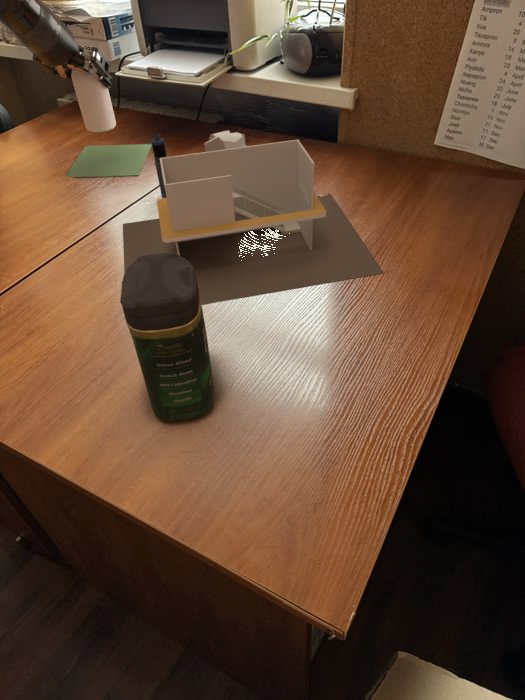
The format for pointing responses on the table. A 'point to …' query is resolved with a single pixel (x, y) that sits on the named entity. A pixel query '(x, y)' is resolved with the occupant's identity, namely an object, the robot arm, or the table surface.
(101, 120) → the can
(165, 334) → the coffee jar
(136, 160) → the mat
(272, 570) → the table surface
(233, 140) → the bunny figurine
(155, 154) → the vaping device
